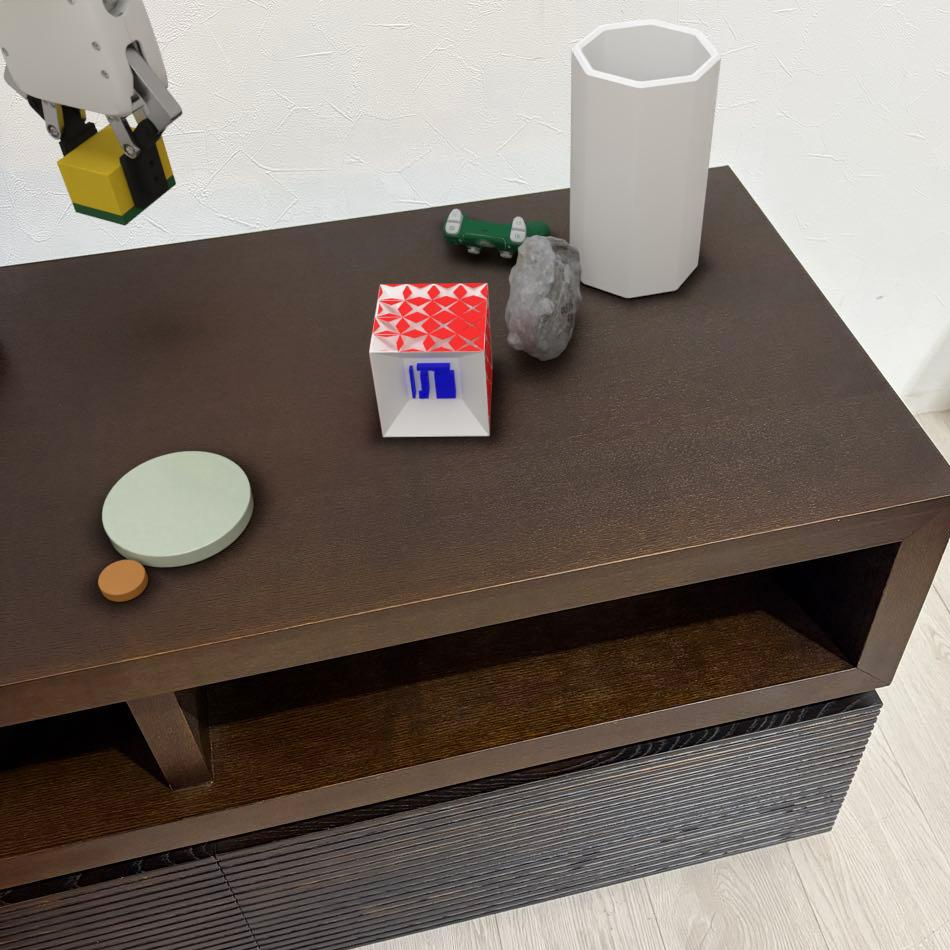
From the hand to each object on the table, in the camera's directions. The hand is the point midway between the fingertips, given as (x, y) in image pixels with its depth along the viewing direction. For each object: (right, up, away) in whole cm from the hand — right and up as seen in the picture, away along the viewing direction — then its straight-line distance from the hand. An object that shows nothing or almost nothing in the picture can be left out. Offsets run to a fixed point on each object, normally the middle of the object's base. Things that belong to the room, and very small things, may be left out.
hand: (122, 188), depth 80 cm
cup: (+39, -2, +16) cm, 42 cm away
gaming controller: (+26, 0, +17) cm, 32 cm away
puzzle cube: (+23, -15, +4) cm, 28 cm away
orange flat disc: (+3, -29, -8) cm, 30 cm away
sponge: (0, 0, +1) cm, 1 cm away
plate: (+5, -24, -4) cm, 25 cm away
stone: (+31, -11, +8) cm, 34 cm away
